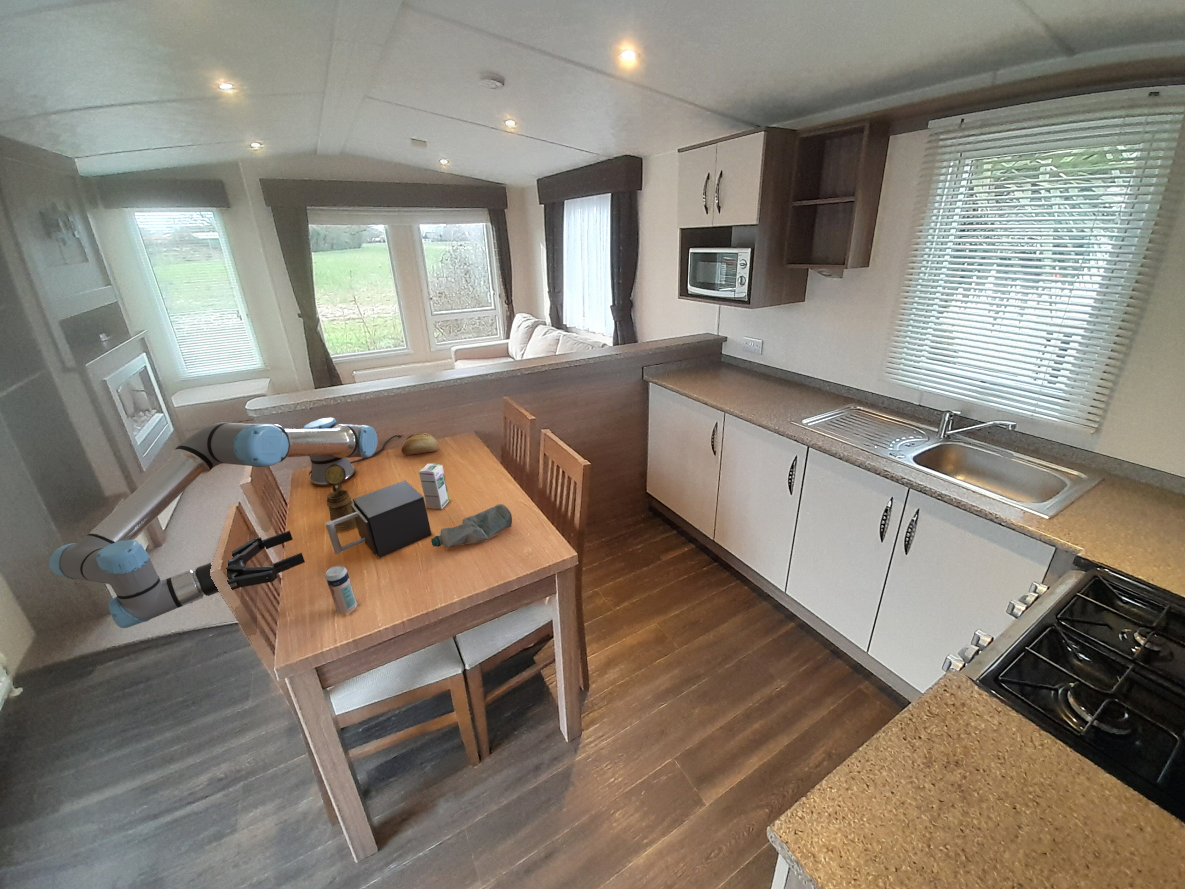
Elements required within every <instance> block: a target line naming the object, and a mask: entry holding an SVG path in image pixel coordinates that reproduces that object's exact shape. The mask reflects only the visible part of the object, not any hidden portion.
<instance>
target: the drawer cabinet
mask: <svg viewBox="0 0 1185 889" xmlns="http://www.w3.org/2000/svg"><path fill="white" fill-rule="evenodd" d="M352 502H353V504H354V505H355V506H356V508H357V509H358V510H359V511H360V512H361V514H364V515H365V516H366V517H367V518H368V520H369V523H370V527H371V531H372V534H373V538H374V542H375V545H376V549H377V554H376V556H377V557H378V558H379V559H381V558H384V557H386V556H388V555H390V554H393V553H396V552H398V551H399V550H402V549H405V548H406V547H408V546H410V545H414V544H415V543H418V542H420V541H423V540H425V539H427V538H429V537H431V536H432V535H433V534H432V530H431V525H430V520H429V515H428V510H427V506H426V501H425V497H424V495H422V494H421V493H420V492H419V491H418V490H417V489H415V488H414V487H413V486H412V485H411V484H410V483H409V482H407V480H401V481H399V482H396V483H394V484H391V485H388V486H385V487H381V488H380V489H376V490H374V491H371V492H368V493H365V494H363V495H359V496H357V497H354V498H352Z"/></svg>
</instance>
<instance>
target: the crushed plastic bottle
mask: <svg viewBox="0 0 1185 889" xmlns="http://www.w3.org/2000/svg"><path fill="white" fill-rule="evenodd" d="M512 524H513V515H512V512H511V511H510V509H509V508H508V507H507V506H506V505H505V504H503V503H499V504H496V505H494V506H493V507H492V506H491V507H489V508H487V509H485V510H483V511H481V512H478V513H477V514H474V515H471V516H468V517H464V518H463V519H462V522H461V524H459V525H456V526H452V527H444V528H441V529H440V530H439V531H440V533H439V535H435V536H434V537H433V538H431V539H430V542H431V545H432V547H433V548H435V547H437V548H439V547H441V546H443V547H445V548H446V549H447V550H449V549H451V548H455V547H459V546H463V545H467V544H468V545H469V544H479V543H481V542H485V541H487V540H489V539H491V538H492V537H495V536H496V535H498V534H500V533H501V532H503V531H504V530H506V529H507V528H511V527H512Z"/></svg>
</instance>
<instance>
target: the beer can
mask: <svg viewBox="0 0 1185 889" xmlns="http://www.w3.org/2000/svg"><path fill="white" fill-rule="evenodd" d="M324 577H325V580H326V583H327V587H328V589H329V592H330V595H331V598H332V601H333V603H334V606H335V609H336V613H338V614H341V615H345V614H349V613H351V612H352V611H354V610H355V609H356V608H357V607H358V601H357V598H356V595H355V591H354V589H353V586H352V583H351V578H350V576H349V573H348V569H347V568H346V567H344V566H343V565H335V566H332V567H330V568H329V569H327V571H326V572H325V575H324Z"/></svg>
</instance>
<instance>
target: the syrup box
mask: <svg viewBox="0 0 1185 889" xmlns="http://www.w3.org/2000/svg"><path fill="white" fill-rule="evenodd" d="M418 474H419V480H420V484H421V488H422V492H423V497H424V501H425V506H426V509H431V510H432V509H433V510H443V509H444V508H445V507H446V505H448V503H449V502H450V495H449V489H448V486H447V481H446V475H445V471H444V466H443V464H440V463H426V465H425V466H423V467H422V468H421V469H419V471H418Z"/></svg>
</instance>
